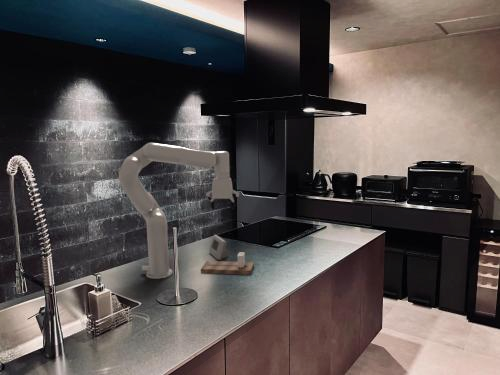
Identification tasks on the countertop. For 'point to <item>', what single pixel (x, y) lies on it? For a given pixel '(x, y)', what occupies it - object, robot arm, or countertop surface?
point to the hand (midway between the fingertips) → (223, 209)
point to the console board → (227, 267)
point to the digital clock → (218, 247)
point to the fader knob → (241, 259)
